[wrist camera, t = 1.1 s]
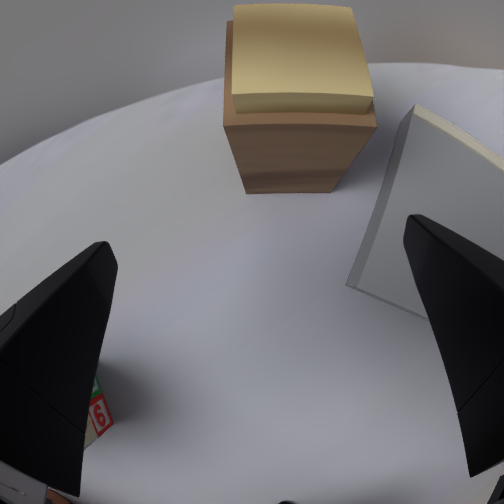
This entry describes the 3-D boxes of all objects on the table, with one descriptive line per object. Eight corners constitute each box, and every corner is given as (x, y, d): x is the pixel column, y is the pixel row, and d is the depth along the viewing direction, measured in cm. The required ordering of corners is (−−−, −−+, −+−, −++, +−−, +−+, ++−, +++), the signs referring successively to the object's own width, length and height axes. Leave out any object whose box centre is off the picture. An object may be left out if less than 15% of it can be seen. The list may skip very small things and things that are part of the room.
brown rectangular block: (330, 193, 22) (389, 109, 9) (246, 194, 22) (216, 107, 10) (323, 119, 22) (359, 2, 10) (245, 119, 23) (222, 0, 10)
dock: (467, 337, 20) (489, 345, 17) (345, 284, 21) (357, 287, 18) (506, 187, 21) (527, 178, 18) (400, 121, 22) (415, 103, 18)
